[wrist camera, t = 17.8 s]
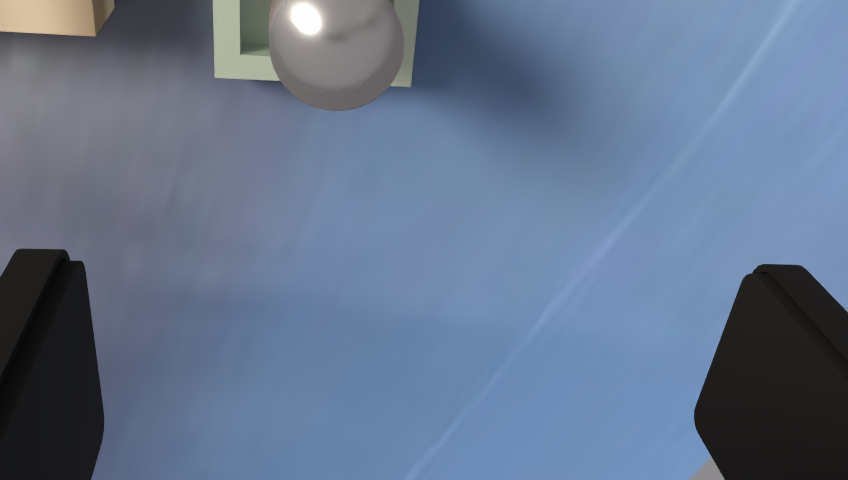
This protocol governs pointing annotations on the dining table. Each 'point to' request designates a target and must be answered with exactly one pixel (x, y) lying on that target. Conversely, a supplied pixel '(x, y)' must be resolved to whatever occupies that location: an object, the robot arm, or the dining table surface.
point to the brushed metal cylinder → (335, 50)
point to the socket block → (55, 16)
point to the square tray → (249, 39)
